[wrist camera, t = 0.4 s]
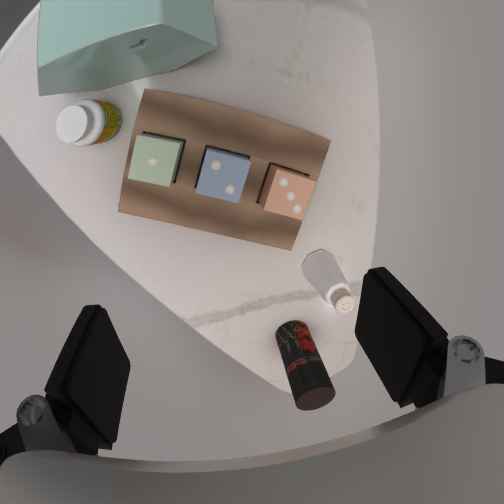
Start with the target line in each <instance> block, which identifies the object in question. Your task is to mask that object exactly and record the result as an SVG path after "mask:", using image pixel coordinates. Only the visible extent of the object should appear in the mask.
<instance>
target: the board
mask: <svg viewBox="0 0 504 504" xmlns="http://www.w3.org/2000/svg"><path fill="white" fill-rule="evenodd" d="M146 132H151V133H156V134H161V135H166V136H171V137H176V138H180V139H185V140H186V144H185V148H184V151H183V155H182V159H181V163H180V167H179V171H178V175H177V179H176V180H174V181H173V183H172V184H171V186H170V187H167V186H162V185H157V184H153V183H148V182H143V181H138V180H134V179H129V178H128V175H129V169H130V164H131V159H132V155H133V150H134V146H135V141H136V137H137V135H140V134H146ZM330 142H331V141H330V140H328V139H325V138H323V137H320V136H318V135H315V134H313V133H310V132H307V131H305V130H302V129H299V128H296V127H293V126H291V125H288V124H285V123H282V122H279V121H276V120H273V119H270V118H267V117H264V116H260V115H257V114H254V113H250V112H247V111H244V110H240V109H236V108H233V107H229V106H225V105H221V104H217V103H213V102H209V101H205V100H201V99H196V98H192V97H187V96H182V95H177V94H172V93H167V92H161V91H155V90H149V89H144V93H143V96H142V100H141V103H140V107H139V110H138V114H137V118H136V122H135V126H134V130H133V134H132V138H131V142H130V147H129V152H128V156H127V161H126V166H125V172H124V177H123V183H122V189H121V195H120V202H119V209H118V212H121V213H126V214H131V215H135V216H140V217H144V218H149V219H153V220H158V221H162V222H167V223H171V224H176V225H180V226H185V227H189V228H194V229H198V230H203V231H207V232H212V233H216V234H220V235H225V236H229V237H233V238H238V239H242V240H247V241H251V242H255V243H260V244H264V245H268V246H272V247H277V248H281V249H285V250H290V251H291V249H292V247H293V244H294V242H295V239H296V236H297V234H298V231H299V228H300V226H301V223H302V220H299V219H295V218H292V217H288V216H285V215H281V214H277V213H273V212H270V211H266V210H263V208H262V206H261V205H260V203H259V201H258V200H257V198H258V195H259V192H260V189H261V186H262V183H263V179H264V176H265V173H266V170H267V167H268V164H269V162H272V163H275V164H279V165H282V166H285V167H288V168H291V169H294V170H297V171H300V172H303V173H305V174H304V175H306V176H308V177H309V178H311V179H313V180H314V181H316V182H317V179H318V176H319V174H320V171H321V168H322V165H323V162H324V159H325V157H326V154H327V151H328V148H329V145H330ZM206 145H211V146H215V147H219V148H222V149H226V150H230V151H234V152H238V153H241V154H245V155H248V159H249V160H250V161H251V164H250V168H249V171H248V174H247V177H246V181H245V184H244V187H243V190H242V194H241V197H240V200H239V203H235V202H231V201H227V200H223V199H218V198H214V197H210V196H206V195H202V194H197V193H196V189H197V185H195V183H196V179H197V175H198V172H199V168H200V164H201V160H202V157H203V153H204V150H205V146H206ZM314 188H315V187H314ZM310 199H311V198H310ZM306 210H307V209H306ZM303 218H304V217H303Z"/></svg>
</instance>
